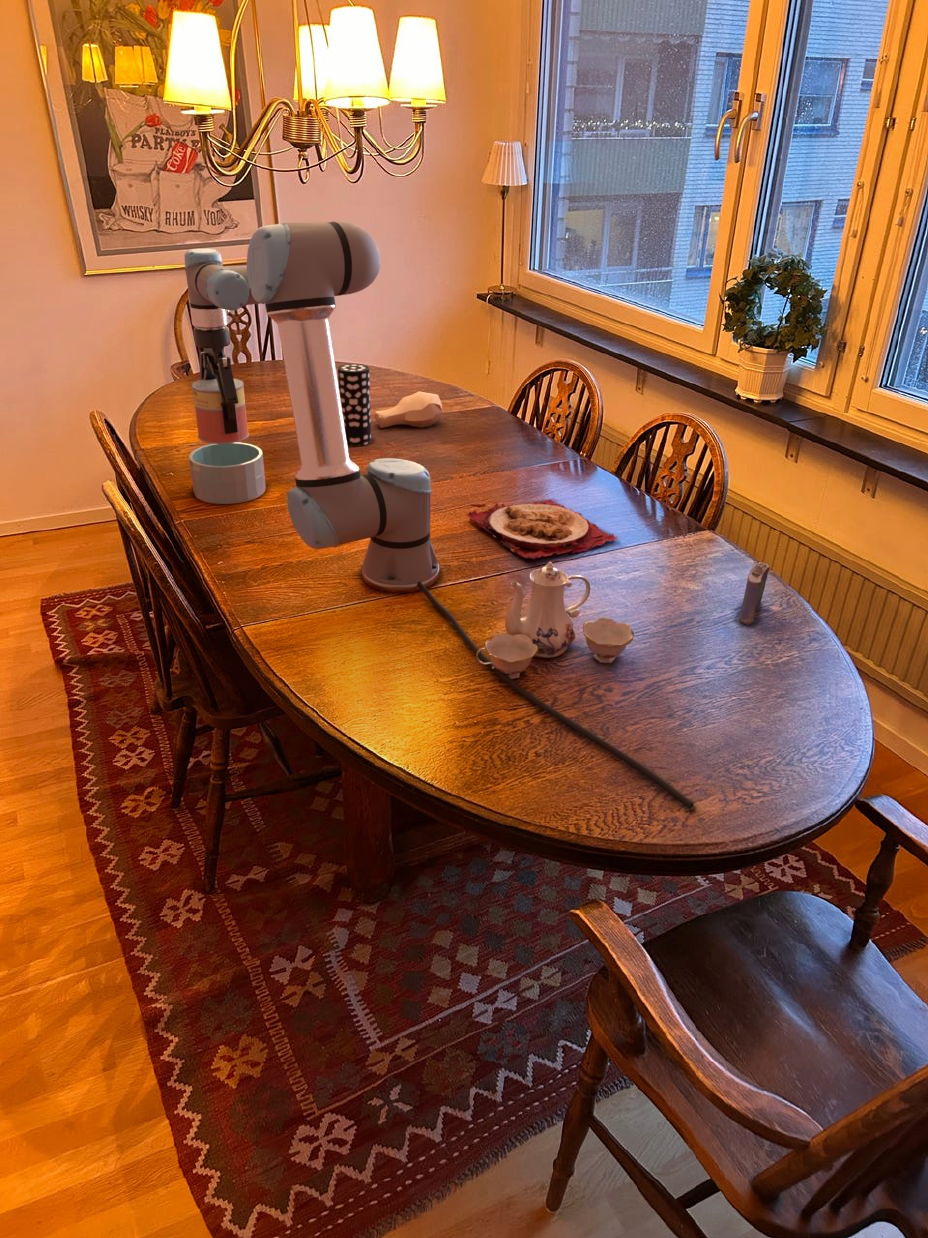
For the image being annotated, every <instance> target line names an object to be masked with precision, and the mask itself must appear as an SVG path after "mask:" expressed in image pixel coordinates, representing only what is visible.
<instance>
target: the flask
mask: <svg viewBox="0 0 928 1238" xmlns="http://www.w3.org/2000/svg"><path fill="white" fill-rule="evenodd" d="M752 564H753V566H752V568H751V569H750V571H749V573H748V576H747V580H746V583H745V590H744V595H743V598H742V603H741V607H740V612H739V616H738V622H739V623H740V624H741V625H747V626H749V625H751V624H752V623H754V619H755V618H756V614H758V612H757V611H759V609H760V608H761V604H762V600H763V595H764V591H765V588H766V583H767V579H768V575H769V571H770V568H771V566H770V565H769V564H768V563H766V562H762V561H757V560H755V561H753V563H752Z"/></svg>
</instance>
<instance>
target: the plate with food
mask: <svg viewBox="0 0 928 1238" xmlns="http://www.w3.org/2000/svg"><path fill="white" fill-rule="evenodd" d="M500 505H501V506H500ZM500 505H499V503H495V505H494V506H492V507H491V508H488V509H487V510H485V511H479V512H477V511H476V510H473V511H472V512H471V511H469V512H468V513H466V512H464V513H465V515H466V516H467V517H468V518H469V520H470V521H471V522H472V521H474V522H476V523H477V528H479V529H484V531H486V532H488V533H489V534H491V535H492V537H493V538H495V539H497V536H496V535H495V534H494V532H492V531H491V530H493V531H495V533H498V534H499V535H500V536H501V537H502V540H500V541H499V542H500V543H503V544H502V546H504V547H505V548H508V549H510V552H512V553H514V554H515V555H517V556H520V557H521V558H524V559H532V560H535V559H540V558H541V557H551V556H553V555H554V554H555V555H556V554H557V555H562V554H565V553H567V554H570V553H569V552H571V554H576V553H581V552H586V551H589V550H593V548H595V547H597V546H602V545H604V544H605V543H606V542H612V541H615V540H616V539H618V538H619V536H615V535H614V534H613V533H611V534H609V533H607V532H605V531H603V530H601V529H600V528H599V527H598V526H597V524H596V523H592V522H590V521H589V519H587V518H584V516H583V514H582V513H581V512H577V511H574V510H573V509H572V508H567V507H566V506H564V505H561V504H560V503H556V502H554V501H553V500H552V499H547V500H541V501H540V502H539V501H538V500H537V501H534V502H527V503H515V504H509V505H506V504H504V503H502V504H500ZM470 506H471V507H475V508H479V509H480V508H485V507H487V505H486V504H485V503H483V504H479V503H477V504H476V503H475V504H471V505H470Z"/></svg>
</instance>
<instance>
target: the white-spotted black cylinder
mask: <svg viewBox="0 0 928 1238" xmlns="http://www.w3.org/2000/svg"><path fill="white" fill-rule="evenodd" d="M337 379H338V386H339V392H340V399H341V405H342V412H343V419H344V425H345V432H346V439H347V445H348V446H351V447H360V446H366V445H369V444H370V443H371V442H372V419H371V418H372V417H371V382H370V380H371V379H370V367H369V366H368V365H366V364H364V363H363V364H362V363H345V364H344V363H343V364H341V365H339V366H337Z"/></svg>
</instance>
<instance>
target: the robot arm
mask: <svg viewBox="0 0 928 1238" xmlns="http://www.w3.org/2000/svg"><path fill="white" fill-rule="evenodd" d="M183 257H184V272H185V276H186V277H185V278H186V284H187V285H186V286H187V291H188V298H189V309H190V316H191V324H192V326H193V327H194V328H193V329H192V330H193V331H192V332H193V338H194V339H193V340H194V344H195V346H196V347H197V348H198V354H199V380H201V379H205V380H209V379H216V380H217V384H218V387H219V390H220V391H221V397H222V401H223V402H222V403H221V404H220V405H221V406H222V412H223V420H224V429H225V434H230V433H236V432H238V429H237V420H236V411H235V404H238V398H237V393H236V388H235V384H234V379H233V378H234V375H233V370H232V364H231V363H232V362H231V361H232V360H231V358H230V356H226V354H225V351H224V348H225V347H228V346H229V345H231V334H230V328H229V327H228V326H227V325H229V317H228V314H229V313H230V311H238V310H239V309H241V308H243V307H244V306H250V305H260V304H261V305H264V307H265V311H266V315H267V316H268V317H269V318H270V319H271V320H273V321H274V322H275V323H276V325H277V328H278V334H279V335H278V336H279V340H280V346H281V352H282V357H283V365H284V370H285V376H286V382H287V388H288V393H289V399H290V406H291V411H292V412H291V413H292V417H293V424H294V428H295V435H296V441H297V447H298V452H299V458H300V467H299V469H298V470H297V472H296V473H295V475H294V481H295V486H294V487H292V488H291V489H289V490H288V492H287V495H286V504H287V506H286V507H287V510H288V514H289V518H290V521H291V523H292V525H293V527H294V529H295V531H296V533H297V534H298V536H299V537H300V539H301V541H303V543H304V544H305V545H306V546H307V547H309V548H311V549H314V550H324V549H330V548H338V547H339V546H343V545H346V544H350V543H355V542H359V541H363V540H366V539H369V543H368V545H367V549H366V552H365V555H364V558H363V561H362V565H361V577H362V580H363V581H364V583H365V584H366V585H368V586H369V587H371V588H373V589H375V590H378V591H381V592H384V593H385V592H386V593H391V594H404V593H405V594H406V593H415V592H419V591H421V592H422V593H423V595H424V596H425V597H426V598H427V600H429V601H430V603H431V604H432V605H433V606H434V607H435V608H436V609H437V610H438V611H440V613H441V614H442V615H444V616H445V617H446V619H447V620H448V621H449V622H450V623H451V624H452V626H453V627H454V629H455V630H456V632H457V633H458V635H459V636H460V637H461V639H462V640H463V641H464V642H465V644H466V645H467V647H469V649H470V650H471V651H472V652H473V653H474V654H475V655H476V654H477V652H478V650H479V649H480V648H479V647H478V646H477V645H476V643H474V642H473V640H472V639H471V638H470V637H469V635H468V634H467V633H466V631H465V630H464V629H463V628H462V626H461V624H460V623H459V622H458V620H456V618H455V617H454V616H453V615H452V614H451V613H450V611H448V609H447V608H445V607H444V606H443V605H442V603H440V602H439V601H438V600H437V598H435V596H434V595H433V594H432V593H431V592H430V591H429V589H428V588H430V587H431V586H433V585H434V584H435V583H437V582H438V580H439V578H440V564H439V561H438V558H437V555H436V552H435V549H434V546H433V544H432V541H431V505H432V504H431V502H432V501H431V499H432V498H431V497H432V496H431V495H432V493H433V492H432V485H431V475H430V472H429V470H428V469H427V468H425V466H423V465H421V464H420V463H417V462H415V461H411V460H407V459H403V458H394V457H393V458H392V457H384V458H383V457H381V458H377V459H373V460H372V461H370V462H369V463H368V465H367V468H366V471H367V472H366V473H363V474H361V469H360V466H359V465H357V464H356V463H355V462H354V461H352V460H351V459H350V453H349V445H347V439H346V432H345V425H344V419H343V412H342V405H341V399H340V392H339V386H338V371H337V367H336V366H337V365H336V359H335V353H334V347H333V340H332V333H331V327H330V320H329V319H330V317H331V315H332V313H333V312H334V310H335V309H336V308H337V307H336V299H335V297H339V296H347V295H352V294H355V293H359V292H361V291H363V290H365V289H367V288H368V287H369V286H371V285H372V284H373V283H374V281H376V279H377V277H378V275H379V272H380V269H381V260H382V258H381V252H380V248H379V246H378V244H377V242H376V240H375V239H374V238H373V236H372V235H371V234H370V233H369V232H368V231H367V230H366V229H364V228H362V227H361V226H359V225H357V224H354V223H352V222H347V221H341V220H339V221H338V220H337V221H335V220H334V221H326V222H325V221H324V222H323V221H319V222H315V221H314V222H282V223H281V222H280V223H275V224H268V225H263V226H260V227H259V228H257V229H256V230H255V231H254V232H253V233H252V235H251V238H250V240H249V244H248V248H247V252H246V265H235V266H224V262H223V259H222V254H221V252H220V251H219V250H217V249H214V248H192V249H188V250H187V251H185V252H184V256H183ZM229 398H231V399H229ZM478 659H479V660H480V661H481V662H483V663H488V662H491V660H490V658H489V657H487V655H485V654H484V653H483V651H482V650H481V651H480V652H479V653H478ZM486 666H487V667H488V668H489V669H490V670H491V671H492V672H493V673H494V674H495V675H497V676H498V677H499V678H500V679H501V680H502V681H504V682H505V683H506V684H507V685H509V686H510V687H511V688H512V689H513V690H515V691H516V692H518V694H520V695H522V696H523V697H524V698H525V699H527V700H529V701H530V702H532V703H533V704H534V705H535V706H537V707H539V708H540V709H541V710H543V711H545V712H546V713H548V714H549V715H550V716H552V717H554V718H556V719H557V720H559V721H560V722H561V723H563V724H565V725H566V726H568V727H570V728H571V729H572V730H574V731H575V732H576V733H577V732H578V733H579V734H580V735H582V736H584V737H586V738H587V739H589V740H590V741H591V742H593V743H595V744H597V745H598V746H599V747H600V748H603V749H605V750H606V751H608V753H610V754H612V755H614V756H615V757H616V758H618V759H620V760H622V761H623V762H625V763H626V764H628V765H629V766H630V767H632V768H634V769H635V770H637V771H638V772H639V773H641V774H642V775H644V776H645V777H646V778H648V779H649V780H651V781H652V782H653V783H655V784H657V786H659V787H660V788H662V790H664V791H665V792H667V793H668V794H669V795H670V796H672V797H673V798H674V799H676V800H677V801H678V802H679V803H681V804H682V805H684V806H685V807H686V808H688V809H689V810H691V809H692V808H693V807H694V805H695V804H694V802H693V801H692V800H690V799H689V798H688V797H686V796H685V795H684V794H682V793H681V792H680V791H679V790H677V789H676V788H675V787H673V786H672V785H671V784H670V783H668V782H667V781H665V779H663V778H662V777H660V776H659V775H657V774H656V773H655V772H654V771H652V770H650V769H649V768H648V767H646V766H645V765H643V764H641V763H640V762H639V761H637V760H636V759H634V758H632V757H631V756H629V755H628V754H626V753H625V752H623V751H622V750H620V749H618V748H617V747H615V746H614V745H612V744H611V743H609V742H608V741H606V740H605V739H603V738H601V737H599V736H598V735H596V734H594V733H593V732H591V731H589V730H588V729H587V728H585V727H583V726H582V725H580V724H578V723H577V722H575V721H573V720H572V719H571V718H569V717H568V716H565V715H564V714H563V713H561V712H559V711H558V710H556V709H554V708H553V707H551V706H550V705H549V704H546V702H544V701H542V700H541V699H540V698H538V697H537V696H535V695H534V694H532V693H531V692H530V691H528V690H527V689H525V688H524V687H523V686H521V685H520V684H519V683H517V682H516V681H515V680H514V679H511V678H510V677H508V676H507V675H506V674H505V673H502V672H500V671H499V670H497V669H496V668H493V669H492V667H493V664H487V665H486Z"/></svg>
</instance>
